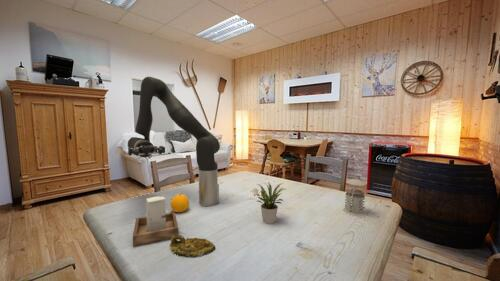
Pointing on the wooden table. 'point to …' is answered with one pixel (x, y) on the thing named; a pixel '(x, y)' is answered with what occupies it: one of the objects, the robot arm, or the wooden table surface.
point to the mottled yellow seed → (190, 246)
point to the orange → (179, 203)
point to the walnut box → (154, 236)
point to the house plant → (269, 203)
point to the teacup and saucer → (255, 192)
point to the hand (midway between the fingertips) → (149, 152)
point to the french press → (355, 198)
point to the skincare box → (156, 213)
